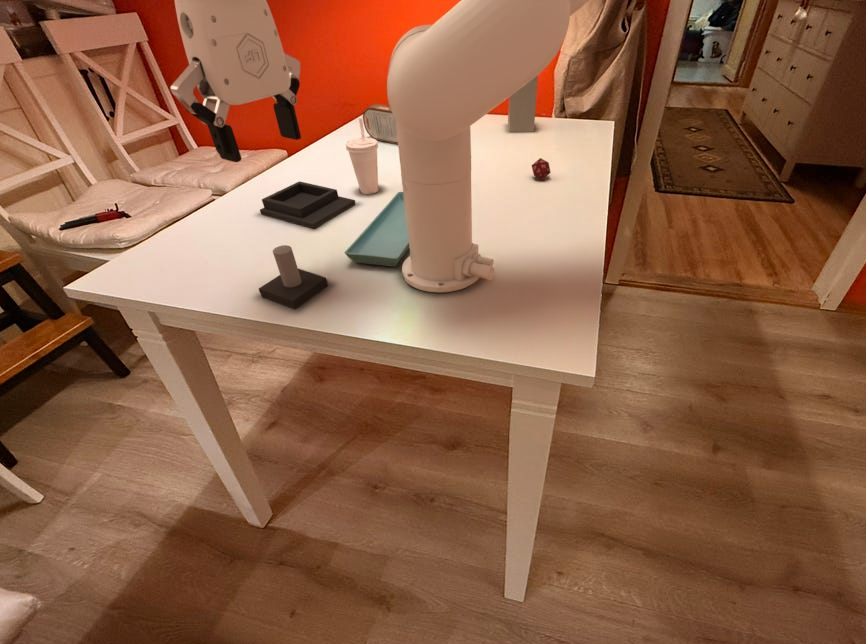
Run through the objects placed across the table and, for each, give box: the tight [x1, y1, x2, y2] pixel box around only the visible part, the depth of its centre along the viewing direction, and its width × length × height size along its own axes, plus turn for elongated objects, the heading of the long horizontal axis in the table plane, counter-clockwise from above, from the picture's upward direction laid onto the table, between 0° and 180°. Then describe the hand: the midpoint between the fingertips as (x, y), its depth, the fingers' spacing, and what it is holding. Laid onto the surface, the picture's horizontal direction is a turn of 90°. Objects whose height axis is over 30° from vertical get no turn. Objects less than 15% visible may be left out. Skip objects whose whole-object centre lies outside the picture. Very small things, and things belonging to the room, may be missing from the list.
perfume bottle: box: [507, 75, 539, 133], centre depth 122 cm, size 7×7×18 cm
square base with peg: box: [258, 244, 329, 310], centre depth 67 cm, size 7×7×7 cm
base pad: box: [259, 181, 356, 230], centre depth 91 cm, size 14×12×3 cm
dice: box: [531, 157, 551, 181], centre depth 99 cm, size 4×4×4 cm
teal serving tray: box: [344, 191, 410, 267], centre depth 82 cm, size 26×9×2 cm, turn 167°
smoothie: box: [345, 118, 379, 195], centre depth 93 cm, size 6×6×14 cm
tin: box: [362, 103, 398, 145], centre depth 120 cm, size 15×3×8 cm, turn 58°
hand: (263, 148), depth 59 cm, fingers open, 9 cm apart
